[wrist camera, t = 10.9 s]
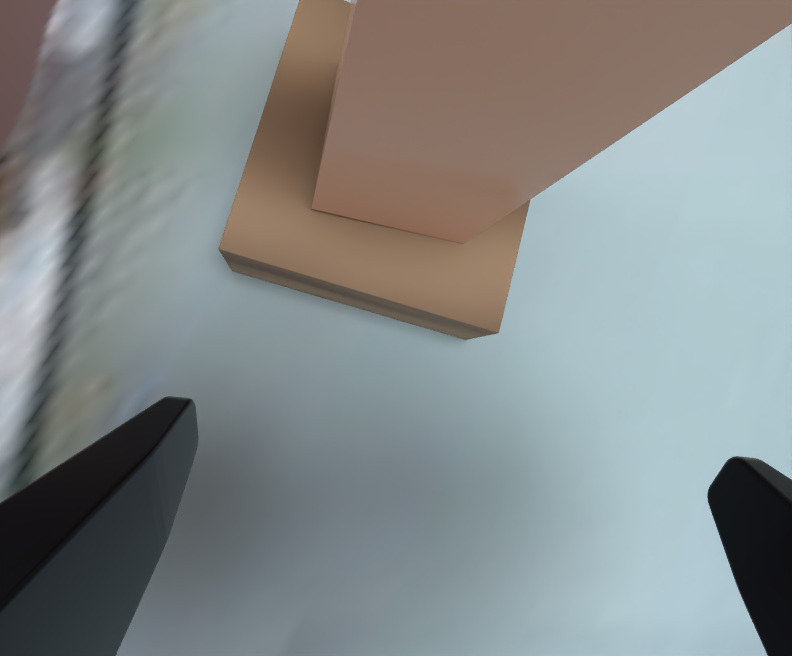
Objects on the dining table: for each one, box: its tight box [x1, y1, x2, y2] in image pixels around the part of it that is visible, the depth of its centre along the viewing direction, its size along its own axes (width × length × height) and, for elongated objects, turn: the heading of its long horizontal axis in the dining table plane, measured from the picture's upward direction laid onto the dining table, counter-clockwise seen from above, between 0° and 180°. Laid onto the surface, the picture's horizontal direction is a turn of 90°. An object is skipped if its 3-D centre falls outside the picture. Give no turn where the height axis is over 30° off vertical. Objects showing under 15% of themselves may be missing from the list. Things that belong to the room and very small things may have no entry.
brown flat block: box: [219, 0, 530, 340], centre depth 20 cm, size 10×10×4 cm
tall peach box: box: [311, 0, 792, 244], centre depth 12 cm, size 6×6×12 cm
